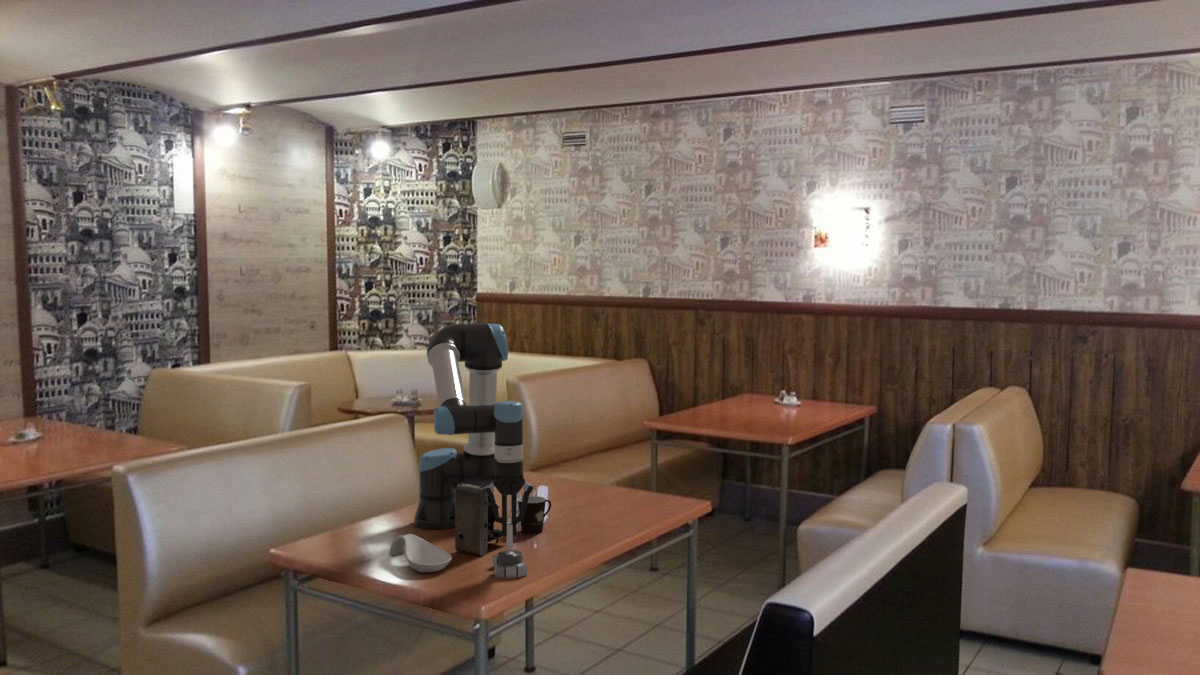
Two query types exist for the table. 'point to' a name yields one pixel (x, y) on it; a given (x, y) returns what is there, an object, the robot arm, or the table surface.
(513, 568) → the grey segmented ring
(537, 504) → the coffee mug
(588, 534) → the table surface
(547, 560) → the table surface
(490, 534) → the vintage camera
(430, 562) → the spoon rest
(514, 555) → the cap
